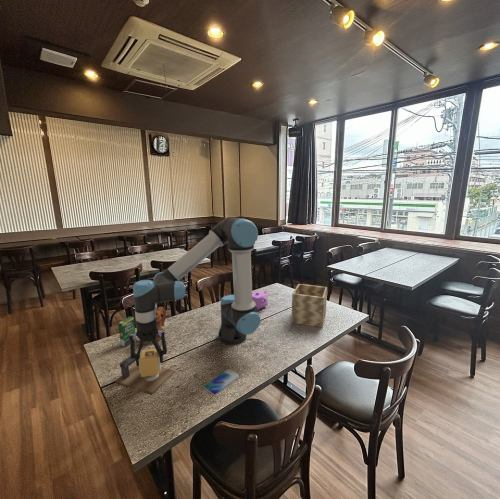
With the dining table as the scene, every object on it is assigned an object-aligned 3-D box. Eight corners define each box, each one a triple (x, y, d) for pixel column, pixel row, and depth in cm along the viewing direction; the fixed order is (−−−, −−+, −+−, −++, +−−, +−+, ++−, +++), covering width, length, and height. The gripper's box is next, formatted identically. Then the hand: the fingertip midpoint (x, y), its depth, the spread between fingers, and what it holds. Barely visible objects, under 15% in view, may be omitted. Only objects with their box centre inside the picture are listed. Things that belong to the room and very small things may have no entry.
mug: (158, 344, 139) (156, 317, 136) (144, 342, 140) (141, 315, 137) (171, 330, 153) (170, 305, 150) (158, 328, 154) (156, 304, 151)
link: (158, 374, 110) (156, 357, 108) (141, 377, 109) (139, 359, 107) (161, 352, 125) (160, 337, 123) (146, 354, 124) (145, 338, 122)
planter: (325, 313, 172) (327, 287, 169) (322, 327, 155) (324, 298, 151) (297, 309, 179) (298, 283, 175) (291, 322, 161) (292, 293, 158)
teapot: (267, 312, 175) (267, 296, 173) (247, 312, 176) (246, 296, 173) (267, 303, 190) (267, 288, 188) (248, 302, 191) (248, 288, 188)
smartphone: (241, 375, 115) (215, 395, 103) (241, 377, 115) (215, 397, 103) (228, 367, 119) (202, 386, 108) (228, 369, 119) (202, 388, 108)
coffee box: (124, 347, 136) (121, 323, 133) (120, 346, 137) (117, 322, 134) (136, 339, 143) (134, 316, 140) (132, 338, 144) (130, 315, 142)
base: (174, 372, 117) (173, 347, 115) (152, 394, 104) (150, 366, 102) (140, 362, 124) (137, 339, 121) (115, 382, 111) (112, 356, 109)
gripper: (172, 312, 113) (175, 361, 118) (121, 317, 109) (127, 368, 114) (171, 320, 106) (174, 372, 111) (117, 326, 102) (123, 380, 107)
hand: (150, 370), depth 112 cm, fingers closed on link, 6 cm apart
